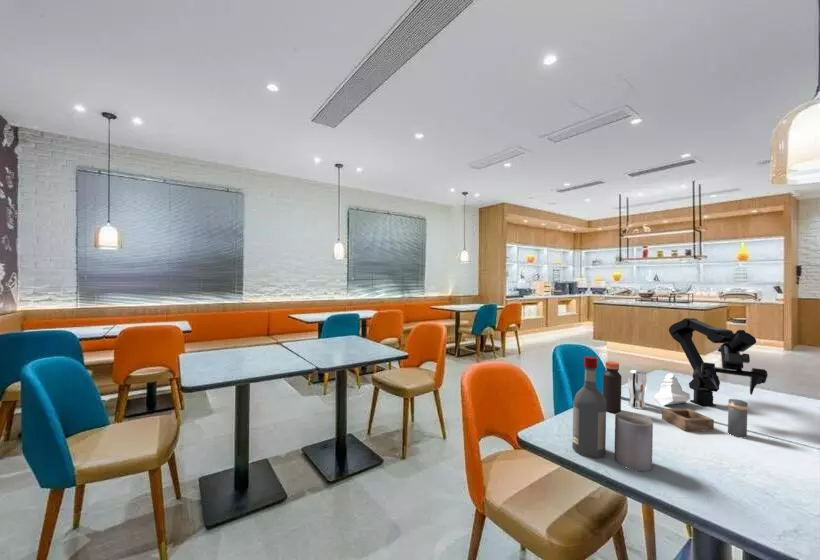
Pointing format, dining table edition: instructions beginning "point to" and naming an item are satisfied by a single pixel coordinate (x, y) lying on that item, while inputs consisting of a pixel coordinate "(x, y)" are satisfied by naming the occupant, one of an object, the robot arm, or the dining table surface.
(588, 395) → the liquor
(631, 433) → the pillar candle
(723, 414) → the dining table surface
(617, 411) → the bottle
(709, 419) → the walnut socket block
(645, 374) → the beer glass
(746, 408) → the charcoal peg
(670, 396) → the soft serve ice cream
